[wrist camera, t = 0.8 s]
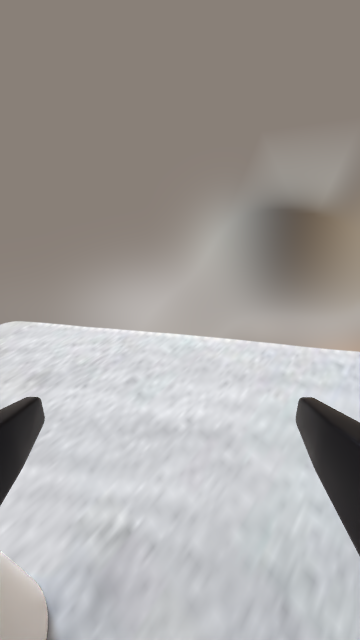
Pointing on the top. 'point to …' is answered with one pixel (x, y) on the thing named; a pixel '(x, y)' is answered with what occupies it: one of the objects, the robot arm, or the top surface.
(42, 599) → the can
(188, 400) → the top surface
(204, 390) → the top surface
